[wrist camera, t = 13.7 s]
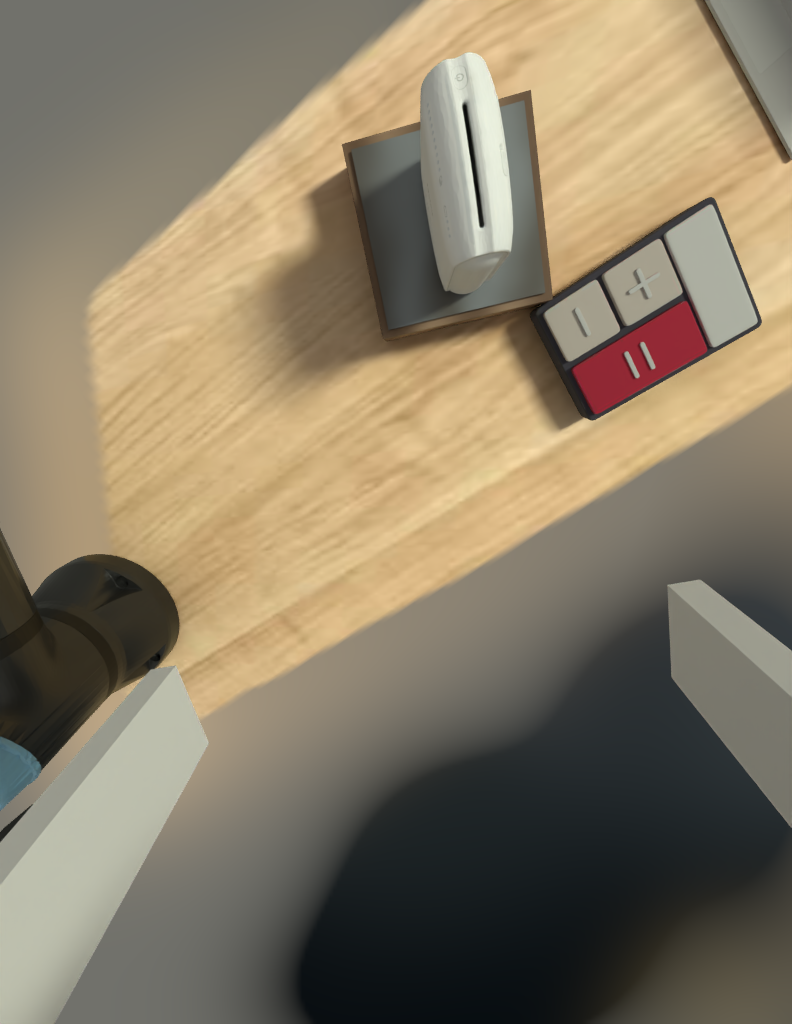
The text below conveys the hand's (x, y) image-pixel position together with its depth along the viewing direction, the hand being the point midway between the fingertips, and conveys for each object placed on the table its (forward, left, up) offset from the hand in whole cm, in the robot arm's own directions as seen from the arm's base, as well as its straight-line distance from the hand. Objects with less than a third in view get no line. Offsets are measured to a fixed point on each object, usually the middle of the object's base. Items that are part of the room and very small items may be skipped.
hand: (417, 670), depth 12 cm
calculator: (+21, +7, -35) cm, 42 cm away
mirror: (+6, +17, -35) cm, 39 cm away
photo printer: (+6, +17, -31) cm, 36 cm away
